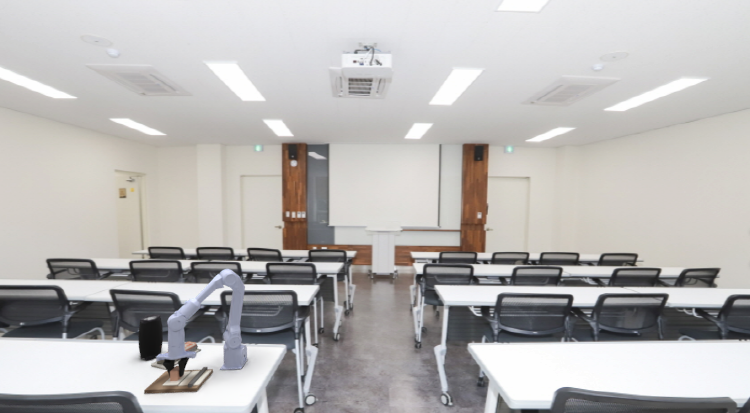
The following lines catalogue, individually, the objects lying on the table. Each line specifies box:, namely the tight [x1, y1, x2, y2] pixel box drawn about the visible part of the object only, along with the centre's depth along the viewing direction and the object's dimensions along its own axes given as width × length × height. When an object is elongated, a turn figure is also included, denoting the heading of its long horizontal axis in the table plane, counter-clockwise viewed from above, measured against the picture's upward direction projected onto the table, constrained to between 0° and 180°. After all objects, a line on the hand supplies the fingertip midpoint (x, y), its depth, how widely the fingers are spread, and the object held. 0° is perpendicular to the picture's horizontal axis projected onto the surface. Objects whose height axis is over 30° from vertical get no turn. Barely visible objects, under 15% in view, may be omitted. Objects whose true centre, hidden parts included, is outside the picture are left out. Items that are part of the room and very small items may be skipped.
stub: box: [162, 365, 191, 386], centre depth 121 cm, size 6×9×4 cm, turn 3°
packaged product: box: [150, 341, 202, 371], centre depth 140 cm, size 18×5×10 cm
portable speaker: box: [137, 313, 164, 362], centre depth 141 cm, size 9×9×20 cm
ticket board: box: [143, 366, 214, 395], centre depth 121 cm, size 20×13×3 cm, turn 93°
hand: (176, 375), depth 121 cm, fingers closed on stub, 3 cm apart
